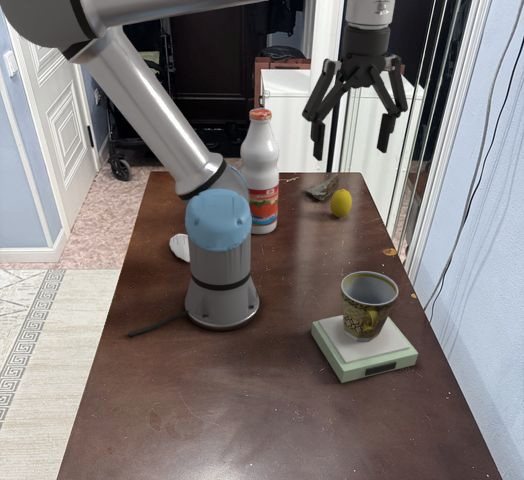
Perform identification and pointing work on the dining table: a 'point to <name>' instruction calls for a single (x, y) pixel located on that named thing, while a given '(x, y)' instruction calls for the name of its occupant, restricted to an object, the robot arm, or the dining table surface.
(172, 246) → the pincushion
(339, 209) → the lemon
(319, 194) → the rock sample
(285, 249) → the dining table surface
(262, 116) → the fruit juice
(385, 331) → the kitchen scale
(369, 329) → the ceramic cup
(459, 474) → the dining table surface
